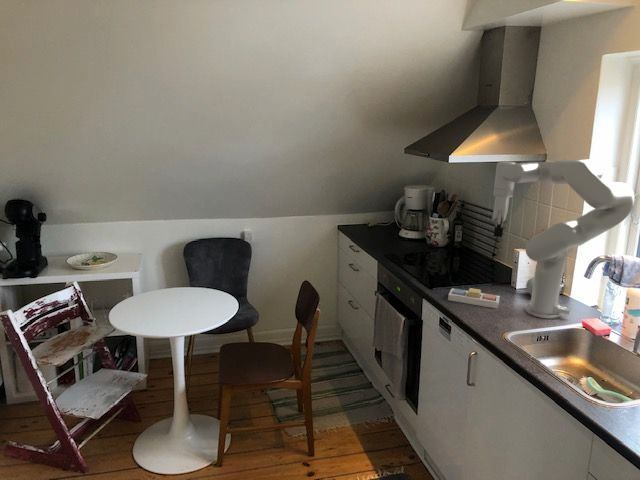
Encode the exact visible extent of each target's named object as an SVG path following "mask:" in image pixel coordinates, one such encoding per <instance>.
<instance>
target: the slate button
mask: <svg viewBox="0 0 640 480" xmlns="http://www.w3.org/2000/svg"><path fill="white" fill-rule="evenodd" d="M453 289H454V291H453V294H456V295H462V296H465V291H467V290H466V289H459V288H453Z"/></svg>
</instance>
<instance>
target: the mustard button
mask: <svg viewBox="0 0 640 480" xmlns="http://www.w3.org/2000/svg"><path fill="white" fill-rule="evenodd" d="M467 291H468V296H469V297H475V298H480V293H482V290H481V289H478V288H473V287H472V288H471V287H470V288H468V290H467Z"/></svg>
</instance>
